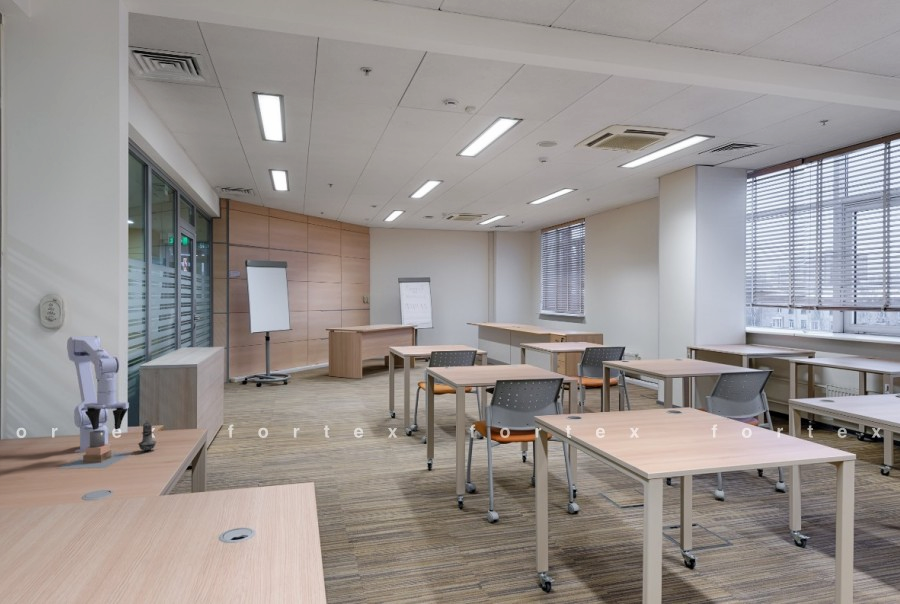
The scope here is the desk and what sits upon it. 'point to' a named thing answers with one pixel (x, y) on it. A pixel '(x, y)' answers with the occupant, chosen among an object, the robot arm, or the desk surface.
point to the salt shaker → (147, 439)
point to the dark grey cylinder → (97, 438)
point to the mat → (79, 463)
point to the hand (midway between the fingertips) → (106, 428)
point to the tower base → (96, 457)
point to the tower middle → (97, 450)
